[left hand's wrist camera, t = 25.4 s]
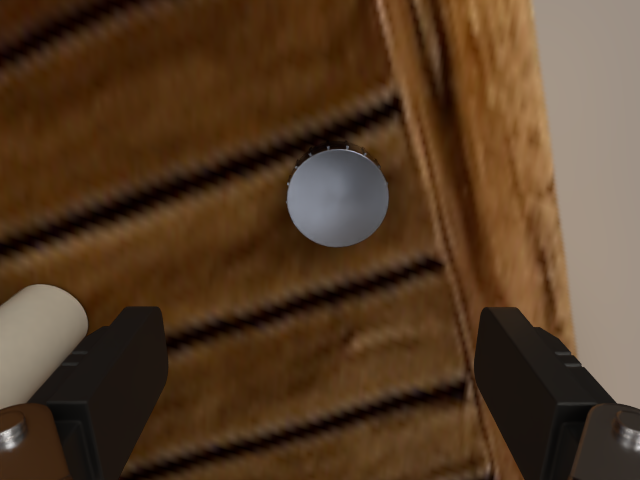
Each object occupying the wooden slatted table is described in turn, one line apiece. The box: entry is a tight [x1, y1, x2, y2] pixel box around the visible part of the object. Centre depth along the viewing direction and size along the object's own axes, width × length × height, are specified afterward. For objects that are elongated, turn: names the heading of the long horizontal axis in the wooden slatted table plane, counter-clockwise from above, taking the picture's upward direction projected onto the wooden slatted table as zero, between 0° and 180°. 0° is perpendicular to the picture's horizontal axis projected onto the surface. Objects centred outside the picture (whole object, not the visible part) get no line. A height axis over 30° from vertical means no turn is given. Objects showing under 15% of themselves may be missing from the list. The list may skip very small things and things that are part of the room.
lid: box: [286, 141, 389, 247], centre depth 22 cm, size 5×5×2 cm
